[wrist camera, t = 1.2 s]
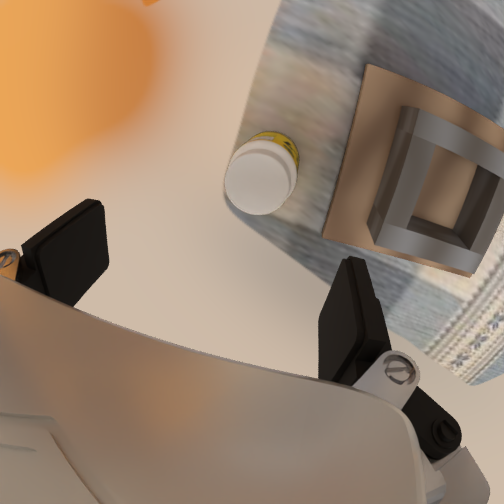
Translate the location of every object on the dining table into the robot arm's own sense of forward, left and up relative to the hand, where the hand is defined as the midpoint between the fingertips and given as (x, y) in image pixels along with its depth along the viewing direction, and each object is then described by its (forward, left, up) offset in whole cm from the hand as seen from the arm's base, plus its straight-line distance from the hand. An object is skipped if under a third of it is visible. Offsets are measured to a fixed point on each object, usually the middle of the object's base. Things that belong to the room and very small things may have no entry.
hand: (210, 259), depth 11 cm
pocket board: (-15, -2, -16) cm, 22 cm away
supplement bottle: (0, 0, -17) cm, 17 cm away
